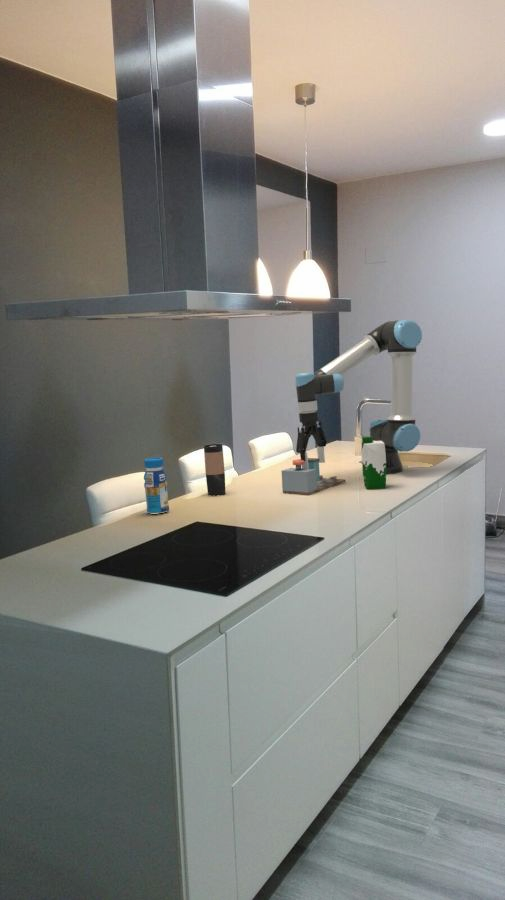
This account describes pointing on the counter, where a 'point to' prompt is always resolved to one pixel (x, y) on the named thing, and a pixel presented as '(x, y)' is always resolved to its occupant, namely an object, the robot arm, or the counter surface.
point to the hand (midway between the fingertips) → (313, 465)
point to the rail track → (321, 485)
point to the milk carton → (373, 463)
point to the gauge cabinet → (299, 480)
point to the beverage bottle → (155, 486)
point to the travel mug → (214, 469)
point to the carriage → (314, 466)
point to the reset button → (298, 463)
